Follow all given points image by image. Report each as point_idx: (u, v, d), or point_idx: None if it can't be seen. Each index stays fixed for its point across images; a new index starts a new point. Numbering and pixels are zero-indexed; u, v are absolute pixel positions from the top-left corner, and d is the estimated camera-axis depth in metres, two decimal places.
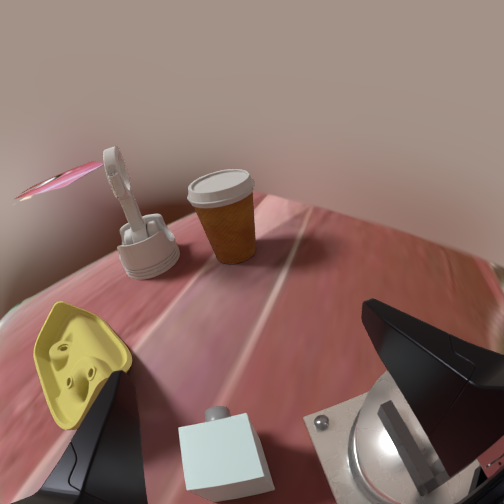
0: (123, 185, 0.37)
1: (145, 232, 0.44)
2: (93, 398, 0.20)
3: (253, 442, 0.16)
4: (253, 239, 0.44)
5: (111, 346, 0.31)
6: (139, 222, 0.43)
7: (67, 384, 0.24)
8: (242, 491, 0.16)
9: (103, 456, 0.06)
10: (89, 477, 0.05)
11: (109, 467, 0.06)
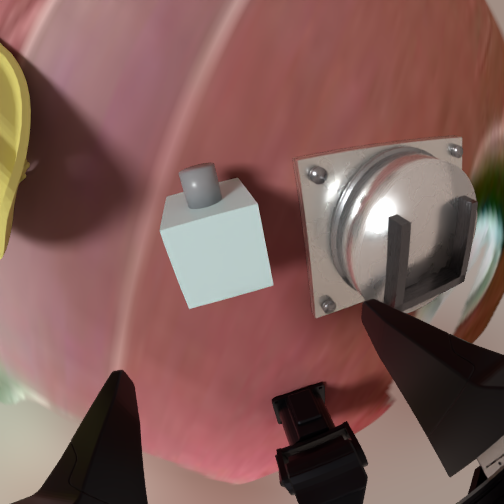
0: None
1: None
2: (7, 227, 0.12)
3: (264, 246, 0.16)
4: None
5: None
6: None
7: None
8: None
9: (103, 456, 0.06)
10: (89, 477, 0.05)
11: (109, 467, 0.06)
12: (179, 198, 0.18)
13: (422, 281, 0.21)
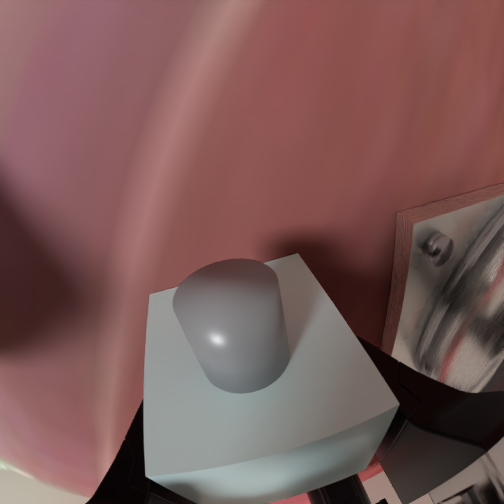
0: None
1: None
2: None
3: (377, 446, 0.06)
4: None
5: None
6: None
7: None
8: None
9: None
10: None
11: None
12: None
13: None
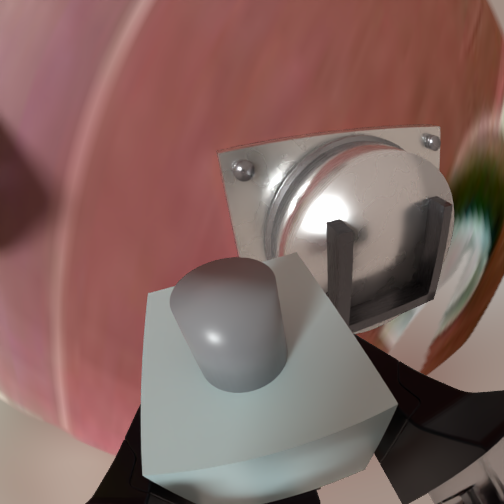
0: None
1: None
2: None
3: (375, 446, 0.06)
4: None
5: None
6: None
7: None
8: None
9: None
10: None
11: None
12: None
13: (379, 298, 0.19)
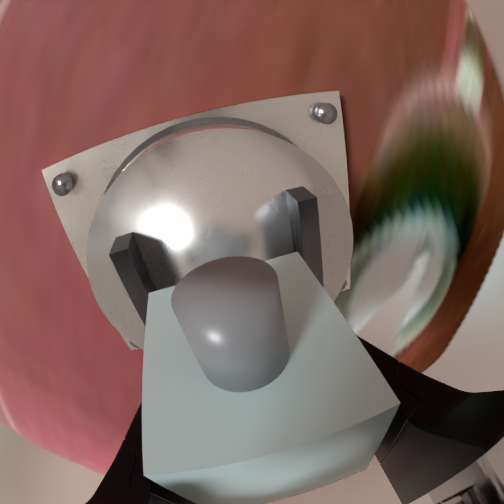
0: None
1: None
2: None
3: (377, 445, 0.06)
4: None
5: None
6: None
7: None
8: None
9: None
10: None
11: None
12: None
13: None
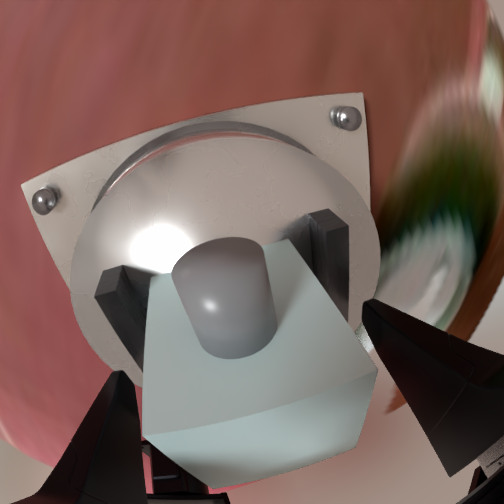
0: None
1: None
2: None
3: (363, 418, 0.07)
4: None
5: None
6: None
7: None
8: None
9: (103, 456, 0.06)
10: (89, 477, 0.05)
11: (109, 467, 0.06)
12: (176, 294, 0.09)
13: None
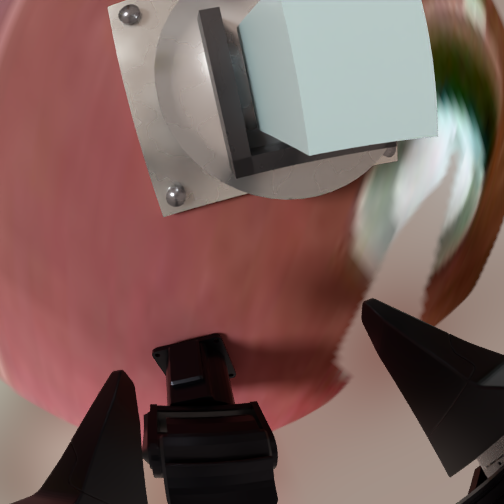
0: None
1: None
2: None
3: (431, 63, 0.07)
4: None
5: None
6: None
7: None
8: None
9: (103, 456, 0.06)
10: (89, 477, 0.05)
11: (109, 467, 0.06)
12: None
13: None
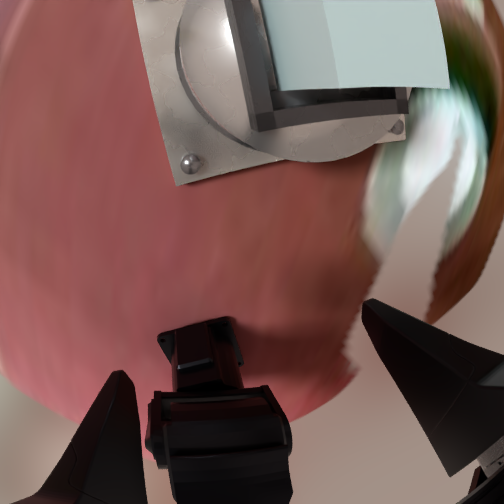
0: None
1: None
2: None
3: (439, 25, 0.06)
4: None
5: None
6: None
7: None
8: None
9: (103, 456, 0.06)
10: (89, 477, 0.05)
11: (109, 467, 0.06)
12: None
13: (325, 101, 0.13)
